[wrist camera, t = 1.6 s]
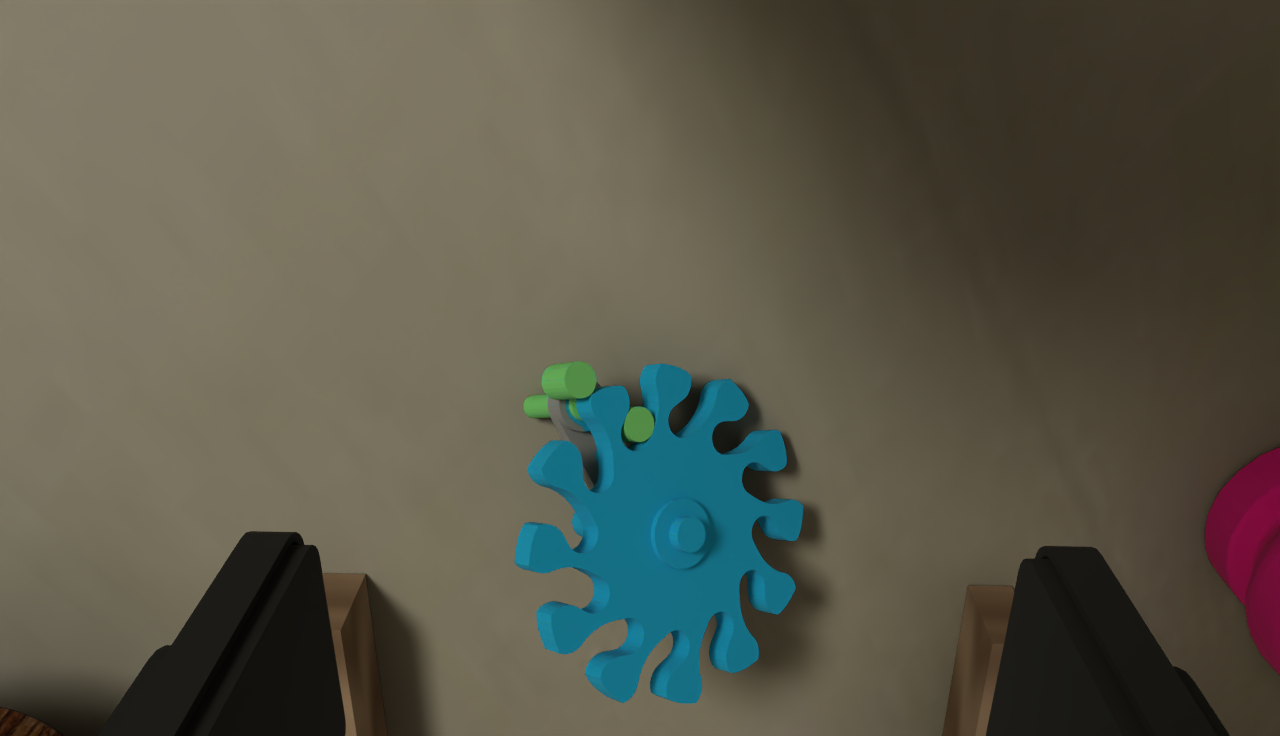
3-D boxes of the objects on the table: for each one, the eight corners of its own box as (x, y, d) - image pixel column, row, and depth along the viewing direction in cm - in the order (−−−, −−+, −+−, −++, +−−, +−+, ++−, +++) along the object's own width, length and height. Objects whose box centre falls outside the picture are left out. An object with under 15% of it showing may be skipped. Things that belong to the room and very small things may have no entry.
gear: (859, 572, 33) (647, 790, 28) (741, 555, 38) (542, 738, 33) (717, 271, 31) (454, 451, 26) (609, 294, 36) (370, 449, 30)
